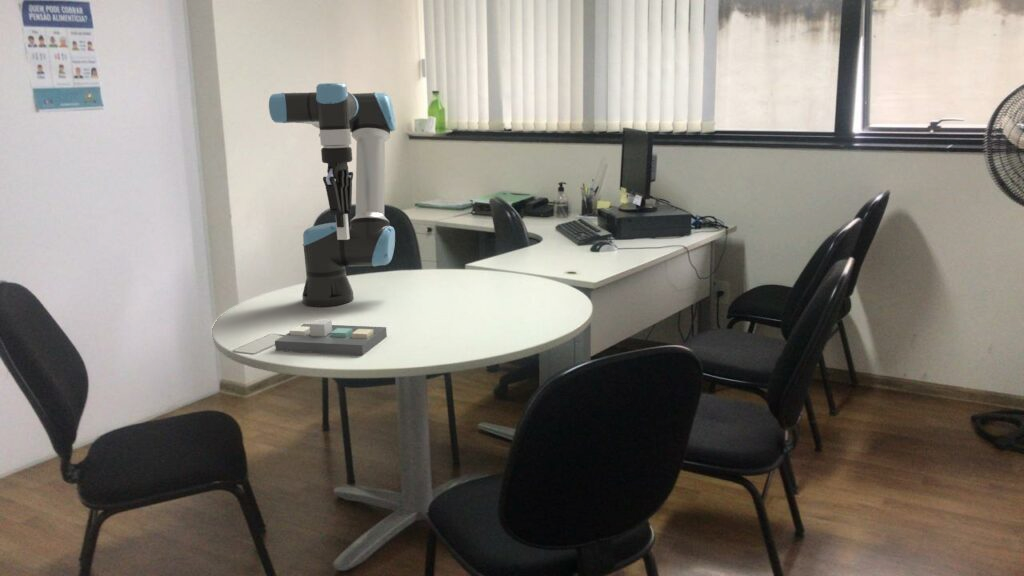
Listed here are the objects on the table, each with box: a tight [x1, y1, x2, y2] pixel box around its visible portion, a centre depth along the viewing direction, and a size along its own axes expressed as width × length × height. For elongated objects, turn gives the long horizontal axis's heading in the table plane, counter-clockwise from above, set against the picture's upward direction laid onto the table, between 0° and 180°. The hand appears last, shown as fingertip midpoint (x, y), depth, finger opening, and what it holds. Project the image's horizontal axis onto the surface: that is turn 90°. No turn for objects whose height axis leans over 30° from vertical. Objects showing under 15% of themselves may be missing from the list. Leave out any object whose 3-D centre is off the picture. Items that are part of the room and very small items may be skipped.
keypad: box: [274, 323, 388, 356], centre depth 199 cm, size 15×23×2 cm, turn 77°
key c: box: [331, 328, 353, 338], centre depth 198 cm, size 4×4×3 cm
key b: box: [308, 319, 333, 337], centre depth 199 cm, size 4×4×3 cm
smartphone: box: [232, 333, 285, 355], centre depth 201 cm, size 7×1×15 cm
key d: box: [352, 329, 374, 339], centre depth 197 cm, size 4×4×3 cm
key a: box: [289, 325, 310, 336], centre depth 201 cm, size 4×4×3 cm
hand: (343, 239), depth 205 cm, fingers closed
